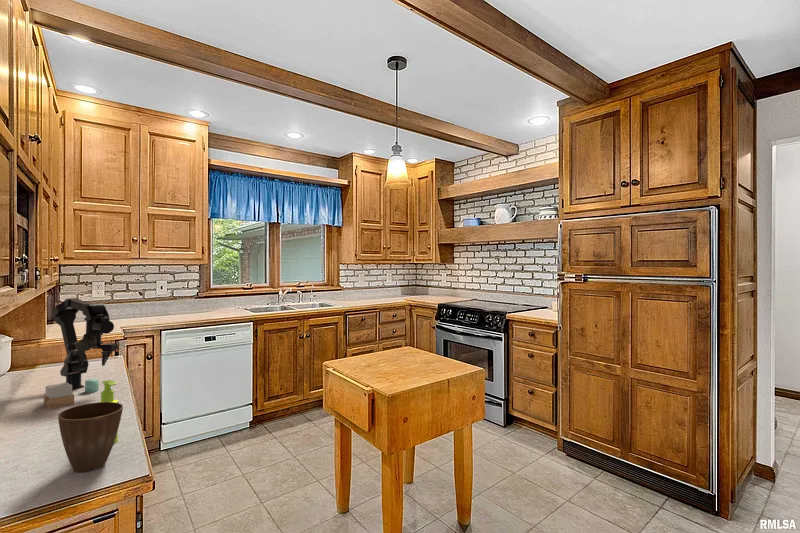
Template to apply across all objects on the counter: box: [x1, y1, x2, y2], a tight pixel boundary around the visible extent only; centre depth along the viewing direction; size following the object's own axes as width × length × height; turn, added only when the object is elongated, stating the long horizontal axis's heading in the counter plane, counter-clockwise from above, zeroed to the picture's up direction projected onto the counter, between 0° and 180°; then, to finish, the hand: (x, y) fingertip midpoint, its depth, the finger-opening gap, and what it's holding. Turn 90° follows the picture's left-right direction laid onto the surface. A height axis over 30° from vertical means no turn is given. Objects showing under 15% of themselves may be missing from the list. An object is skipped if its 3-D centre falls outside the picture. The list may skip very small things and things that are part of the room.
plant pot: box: [57, 401, 124, 473], centre depth 118 cm, size 15×15×16 cm
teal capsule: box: [84, 378, 100, 394], centre depth 189 cm, size 5×5×5 cm
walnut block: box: [43, 393, 75, 410], centre depth 170 cm, size 8×8×4 cm
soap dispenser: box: [99, 379, 119, 444], centre depth 134 cm, size 6×7×20 cm
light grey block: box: [44, 382, 73, 399], centre depth 170 cm, size 7×7×4 cm
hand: (92, 365), depth 187 cm, fingers open, 9 cm apart
